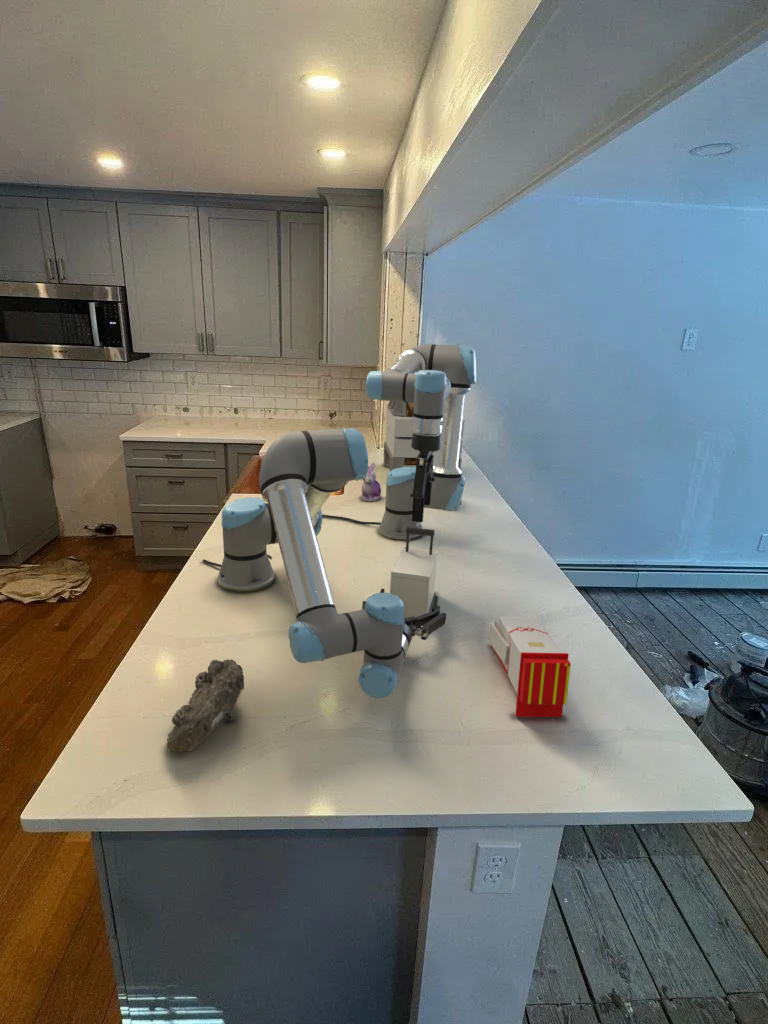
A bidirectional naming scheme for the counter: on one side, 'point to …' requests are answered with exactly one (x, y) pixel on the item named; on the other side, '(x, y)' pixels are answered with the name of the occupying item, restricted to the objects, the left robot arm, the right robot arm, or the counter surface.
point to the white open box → (414, 593)
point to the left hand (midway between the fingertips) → (409, 597)
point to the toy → (531, 665)
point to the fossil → (206, 705)
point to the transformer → (403, 436)
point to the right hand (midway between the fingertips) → (421, 512)
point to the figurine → (370, 486)
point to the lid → (415, 558)
